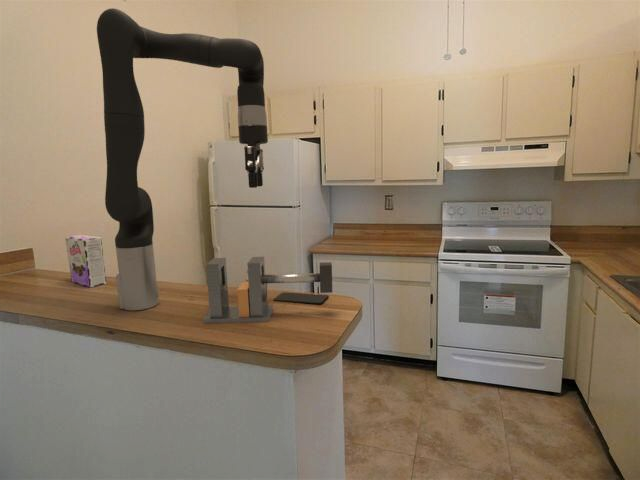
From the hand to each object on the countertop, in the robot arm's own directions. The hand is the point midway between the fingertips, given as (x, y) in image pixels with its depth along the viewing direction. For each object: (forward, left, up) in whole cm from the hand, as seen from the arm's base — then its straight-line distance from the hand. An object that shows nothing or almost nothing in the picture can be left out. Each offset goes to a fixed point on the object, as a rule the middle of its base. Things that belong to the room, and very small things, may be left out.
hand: (256, 186), depth 104 cm
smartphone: (+11, 0, -33) cm, 35 cm away
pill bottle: (-1, -2, -32) cm, 32 cm away
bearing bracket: (-4, -12, -32) cm, 35 cm away
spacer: (-2, -12, -28) cm, 30 cm away
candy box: (-64, +23, -32) cm, 75 cm away
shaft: (+11, -12, -26) cm, 31 cm away
